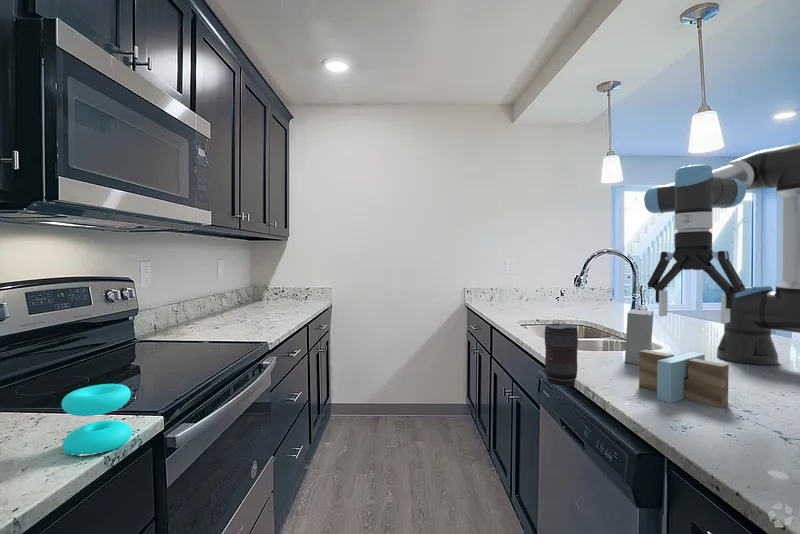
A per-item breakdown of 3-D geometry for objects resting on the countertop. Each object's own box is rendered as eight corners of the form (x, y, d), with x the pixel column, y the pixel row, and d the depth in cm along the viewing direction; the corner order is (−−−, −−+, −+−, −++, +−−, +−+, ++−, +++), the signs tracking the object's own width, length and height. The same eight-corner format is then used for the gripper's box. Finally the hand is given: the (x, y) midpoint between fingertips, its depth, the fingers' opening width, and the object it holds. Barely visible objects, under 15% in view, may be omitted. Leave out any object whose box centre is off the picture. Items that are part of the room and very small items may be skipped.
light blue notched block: (690, 387, 108) (691, 352, 108) (704, 390, 106) (704, 354, 106) (656, 399, 100) (657, 360, 99) (670, 403, 97) (671, 363, 97)
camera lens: (537, 380, 115) (538, 324, 115) (561, 376, 118) (561, 322, 118) (560, 388, 108) (560, 329, 107) (584, 385, 111) (585, 326, 111)
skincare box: (628, 357, 140) (628, 308, 140) (653, 360, 136) (654, 310, 136) (623, 362, 134) (624, 311, 133) (650, 366, 129) (651, 313, 129)
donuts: (107, 399, 71) (45, 399, 71) (108, 459, 72) (47, 460, 71) (142, 381, 81) (88, 382, 81) (143, 434, 82) (89, 434, 81)
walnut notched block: (645, 384, 111) (645, 349, 111) (728, 405, 96) (728, 364, 96) (639, 386, 109) (639, 351, 109) (721, 407, 94) (722, 366, 94)
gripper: (632, 233, 113) (633, 314, 113) (749, 227, 92) (748, 327, 92) (648, 233, 117) (648, 312, 117) (763, 228, 96) (762, 324, 96)
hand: (692, 319), depth 105 cm, fingers open, 13 cm apart
